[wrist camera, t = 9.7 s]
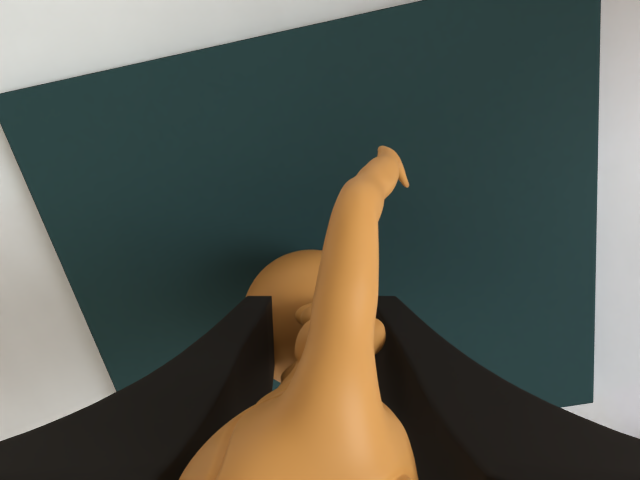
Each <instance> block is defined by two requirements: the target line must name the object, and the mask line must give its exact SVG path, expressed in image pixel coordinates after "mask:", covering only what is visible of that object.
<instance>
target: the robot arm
mask: <svg viewBox="0 0 640 480" xmlns="http://www.w3.org/2000/svg"><path fill="white" fill-rule="evenodd" d="M376 319H378V320H380V321H381V322H382V323H383V325H384V327H385V332H386V339H385V344H384V346H383V348H382V349H381V350H380V351H379V352H378V353H377V354H375V363H376V371H377V378H378V385H379V391H380V396H381V401H382V402H383V403H384V404H385V405H386V406H387V407H388V408H389V409H390V410H391V411H392V412H393V413H394V414H395V415H396V417H397V418H398V419H399V421H400V422H401V423H402V425H403V427H404V429H405V431H406V433H407V435H408V438H409V441H410V444H411V448H412V451H413V455H414V459H415V463H416V469H417V474H418V480H640V439H638V438H635V437H632V436H629V435H626V434H623V433H620V432H618V431H615V430H612V429H610V428H607V427H605V426H602V425H600V424H597V423H595V422H592V421H590V420H588V419H585V418H583V417H580V416H578V415H575V414H573V413H571V412H568V411H566V410H564V409H562V408H560V407H557V406H555V405H553V404H551V403H549V402H547V401H545V400H543V399H541V398H539V397H537V396H535V395H533V394H531V393H529V392H527V391H525V390H523V389H521V388H519V387H517V386H515V385H513V384H512V383H510V382H508V381H506V380H504V379H503V378H501V377H499V376H498V375H496V374H495V373H493V372H491V371H490V370H488V369H486V368H485V367H483V366H482V365H480V364H478V363H477V362H475V361H474V360H472V359H471V358H469V357H468V356H467V355H465V354H464V353H463V352H461V351H460V350H458V349H457V348H456V347H454V346H453V345H452V344H450V343H449V342H448V341H446V340H445V339H444V338H443V337H441V336H440V335H439V334H438V333H437V332H435V331H434V330H433V329H432V328H431V327H429V326H428V325H427V324H426V323H425V322H424V321H423V320H421V319H420V318H419V317H418V316H417V315H416V314H415V313H414V312H413V311H411V310H410V309H409V308H408V307H407V306H406V305H405V304H404V303H403V302H402V301H401V300H400V299H398V298H397V297H396V296H378V303H377V311H376ZM274 368H275V360H274V336H273V313H272V296H247V297H245V298H244V299H243V300H242V301H241V302H240V303H239V304H238V305H237V306H236V307H235V308H233V309H232V310H231V311H230V312H229V313H228V314H227V315H226V316H225V317H224V318H223V319H222V320H221V321H219V322H218V323H217V324H216V325H215V326H214V327H213V328H211V329H210V330H209V331H208V332H207V333H206V334H204V335H203V336H202V337H200V338H199V339H198V340H197V341H195V342H194V343H193V344H192V345H190V346H189V347H188V348H186V349H185V350H184V351H183V352H181V353H180V354H179V355H177V356H176V357H174V358H173V359H172V360H170V361H169V362H167V363H166V364H164V365H163V366H161V367H159V368H158V369H156V370H155V371H153V372H151V373H150V374H148V375H147V376H145V377H143V378H142V379H140V380H138V381H136V382H134V383H133V384H131V385H129V386H127V387H125V388H123V389H121V390H119V391H117V392H116V393H114V394H112V395H110V396H108V397H106V398H104V399H102V400H100V401H98V402H96V403H94V404H92V405H90V406H88V407H86V408H83V409H81V410H79V411H77V412H74V413H72V414H70V415H68V416H65V417H63V418H60V419H58V420H56V421H53V422H51V423H49V424H46V425H44V426H41V427H39V428H36V429H33V430H31V431H28V432H26V433H23V434H20V435H17V436H14V437H11V438H8V439H6V440H3V441H0V480H179V478H180V477H181V475H182V473H183V471H184V470H185V468H186V467H187V465H188V464H189V462H190V461H191V459H192V458H193V457H194V455H195V454H196V453H197V452H198V451H199V449H200V448H201V447H202V446H203V445H204V444H205V443H206V442H207V441H208V440H209V439H210V438H211V437H212V436H213V435H214V434H215V433H216V432H217V431H218V430H219V429H220V428H221V427H223V426H224V425H225V424H226V423H228V422H229V421H230V420H231V419H233V418H234V417H236V416H237V415H238V414H240V413H242V412H243V411H245V410H246V409H248V408H250V407H251V406H253V405H255V404H256V403H257V402H258V401H259V400H260V399H261V398H263V397H264V396H265V395H267V394H268V393H270V392H272V388H273V378H274Z"/></svg>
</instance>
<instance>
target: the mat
mask: <svg viewBox="0 0 640 480" xmlns="http://www.w3.org/2000/svg"><path fill="white" fill-rule="evenodd" d="M600 13H601V0H422V1H417V2H413V3H408V4H404V5H399V6H395V7H390V8H386V9H381V10H377V11H372V12H368V13H363V14H359V15H354V16H350V17H345V18H341V19H336V20H331V21H327V22H322V23H318V24H313V25H309V26H304V27H300V28H295V29H291V30H286V31H282V32H277V33H273V34H268V35H264V36H259V37H254V38H250V39H245V40H241V41H236V42H232V43H227V44H223V45H218V46H214V47H209V48H205V49H200V50H196V51H191V52H187V53H182V54H178V55H173V56H168V57H164V58H159V59H155V60H150V61H146V62H141V63H137V64H132V65H128V66H123V67H119V68H114V69H110V70H105V71H101V72H96V73H91V74H87V75H82V76H78V77H73V78H69V79H64V80H60V81H55V82H51V83H46V84H42V85H37V86H33V87H28V88H24V89H19V90H14V91H10V92H5V93H1V94H0V124H1V126H2V128H3V131H4V133H5V135H6V137H7V140H8V142H9V144H10V147H11V149H12V151H13V154H14V156H15V158H16V161H17V163H18V165H19V167H20V170H21V172H22V174H23V177H24V179H25V181H26V184H27V186H28V188H29V191H30V193H31V195H32V197H33V200H34V202H35V204H36V207H37V209H38V211H39V214H40V216H41V218H42V221H43V223H44V225H45V227H46V230H47V232H48V234H49V237H50V239H51V241H52V244H53V246H54V248H55V251H56V253H57V255H58V257H59V260H60V262H61V264H62V267H63V269H64V271H65V274H66V276H67V278H68V281H69V283H70V285H71V287H72V290H73V292H74V294H75V297H76V299H77V301H78V304H79V306H80V308H81V311H82V313H83V315H84V317H85V320H86V322H87V324H88V327H89V329H90V331H91V334H92V336H93V338H94V341H95V343H96V345H97V347H98V350H99V352H100V354H101V357H102V359H103V361H104V364H105V366H106V368H107V371H108V373H109V375H110V377H111V380H112V382H113V384H114V387H115V389H116V391H119V390H121V389H123V388H125V387H127V386H129V385H131V384H133V383H134V382H136V381H138V380H140V379H142V378H143V377H145V376H147V375H148V374H150V373H151V372H153V371H155V370H156V369H158V368H159V367H161V366H163V365H164V364H166V363H167V362H169V361H170V360H172V359H173V358H174V357H176V356H177V355H179V354H180V353H181V352H183V351H184V350H185V349H186V348H188V347H189V346H190V345H192V344H193V343H194V342H195V341H197V340H198V339H199V338H200V337H202V336H203V335H204V334H206V333H207V332H208V331H209V330H210V329H211V328H213V327H214V326H215V325H216V324H217V323H218V322H219V321H221V320H222V319H223V318H224V317H225V316H226V315H227V314H228V313H229V312H230V311H231V310H232V309H233V308H235V307H236V306H237V305H238V304H239V303H240V302H241V301H242V300H243V299H244V298H245V297H246V295H247V292H248V290H249V288H250V286H251V284H252V283H253V281H254V279H255V278H256V277H257V275H258V274H259V273H260V272H261V271H262V270H263V269H264V268H265V267H266V266H267V265H269V264H270V263H271V262H273V261H274V260H276V259H277V258H279V257H281V256H283V255H286V254H288V253H291V252H295V251H300V250H323V245H324V240H325V236H326V232H327V228H328V224H329V220H330V216H331V213H332V210H333V207H334V204H335V202H336V200H337V197H338V195H339V193H340V191H341V189H342V187H343V186H344V185H345V183H346V182H347V181H349V180H350V179H352V178H353V177H355V176H356V175H357V174H358V172H359V171H360V170H361V169H362V168H363V167H364V166H365V165H366V164H368V163H369V162H370V161H371V160H372V159H374V158H375V157H377V155H378V147H380V146H386V147H389V148H391V149H392V150H394V151H395V152H396V153H397V154H398V156H399V157H400V159H401V162H402V164H403V167H404V170H405V173H406V177H407V180H408V183H409V187H408V188H406V187H404V186H403V185H402V183H401V182H400V181H399V179H398V181H397V183H396V186H395V188H394V189H393V191H392V192H391V193H390V194H389V195H388V196H387V197H386V198H385V199H384V206H383V210H382V213H381V216H380V218H379V221H378V239H379V285H378V296H396V297H397V298H398V299H400V300H401V301H402V302H403V303H404V304H405V305H406V306H407V307H408V308H409V309H410V310H411V311H413V312H414V313H415V314H416V315H417V316H418V317H419V318H420V319H421V320H423V321H424V322H425V323H426V324H427V325H428V326H429V327H431V328H432V329H433V330H434V331H435V332H437V333H438V334H439V335H440V336H441V337H443V338H444V339H445V340H446V341H448V342H449V343H450V344H452V345H453V346H454V347H456V348H457V349H458V350H460V351H461V352H463V353H464V354H465V355H467V356H468V357H469V358H471V359H472V360H474V361H475V362H477V363H478V364H480V365H482V366H483V367H485V368H486V369H488V370H490V371H491V372H493V373H495V374H496V375H498V376H499V377H501V378H503V379H504V380H506V381H508V382H510V383H512V384H513V385H515V386H517V387H519V388H521V389H523V390H525V391H527V392H529V393H531V394H533V395H535V396H537V397H539V398H541V399H543V400H545V401H547V402H549V403H551V404H553V405H555V406H557V407H567V406H574V405H580V404H587V403H593V384H594V331H595V278H596V225H597V172H598V119H599V66H600ZM280 384H281V383H280V382H278V381H277V380H275V379H273V388H272V391H274V390H275V389H277V388H278V387H279V385H280Z"/></svg>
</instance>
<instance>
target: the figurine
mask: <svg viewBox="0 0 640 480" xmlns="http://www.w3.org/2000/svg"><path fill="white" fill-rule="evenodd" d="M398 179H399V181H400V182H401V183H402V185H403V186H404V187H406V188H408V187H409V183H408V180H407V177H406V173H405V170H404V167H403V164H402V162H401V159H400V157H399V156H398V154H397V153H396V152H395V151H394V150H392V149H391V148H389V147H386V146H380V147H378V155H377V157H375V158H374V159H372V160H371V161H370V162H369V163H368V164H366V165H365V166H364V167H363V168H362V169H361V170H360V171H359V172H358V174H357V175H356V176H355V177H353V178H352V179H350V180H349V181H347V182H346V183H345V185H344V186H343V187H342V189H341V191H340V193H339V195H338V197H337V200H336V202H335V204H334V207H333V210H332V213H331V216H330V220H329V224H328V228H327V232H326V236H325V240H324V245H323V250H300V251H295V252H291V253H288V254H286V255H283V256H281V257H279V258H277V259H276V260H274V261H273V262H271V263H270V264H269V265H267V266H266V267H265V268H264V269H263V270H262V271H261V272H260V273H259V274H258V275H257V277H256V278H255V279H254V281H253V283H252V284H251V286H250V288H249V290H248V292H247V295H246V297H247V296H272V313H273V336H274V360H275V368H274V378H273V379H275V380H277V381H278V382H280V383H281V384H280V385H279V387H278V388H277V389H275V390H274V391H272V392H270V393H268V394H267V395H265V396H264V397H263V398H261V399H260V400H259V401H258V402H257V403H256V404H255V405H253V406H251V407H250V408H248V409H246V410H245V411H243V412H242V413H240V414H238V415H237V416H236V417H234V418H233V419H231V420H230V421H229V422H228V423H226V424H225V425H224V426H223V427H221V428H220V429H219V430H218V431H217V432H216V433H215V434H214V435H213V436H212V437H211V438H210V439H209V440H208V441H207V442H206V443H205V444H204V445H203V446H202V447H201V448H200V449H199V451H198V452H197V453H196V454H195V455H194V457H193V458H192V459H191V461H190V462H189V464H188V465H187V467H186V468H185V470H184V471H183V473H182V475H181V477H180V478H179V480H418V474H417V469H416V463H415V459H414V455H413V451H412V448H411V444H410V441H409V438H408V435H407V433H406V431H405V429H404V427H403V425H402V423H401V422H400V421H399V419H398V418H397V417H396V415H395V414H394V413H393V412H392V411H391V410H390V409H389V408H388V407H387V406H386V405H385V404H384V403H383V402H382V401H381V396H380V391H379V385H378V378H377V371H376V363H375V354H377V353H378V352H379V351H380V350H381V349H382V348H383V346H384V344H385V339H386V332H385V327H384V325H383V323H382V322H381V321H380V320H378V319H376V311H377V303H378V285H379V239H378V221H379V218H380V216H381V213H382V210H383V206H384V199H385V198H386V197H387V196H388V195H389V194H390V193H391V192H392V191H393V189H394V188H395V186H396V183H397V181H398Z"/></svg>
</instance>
